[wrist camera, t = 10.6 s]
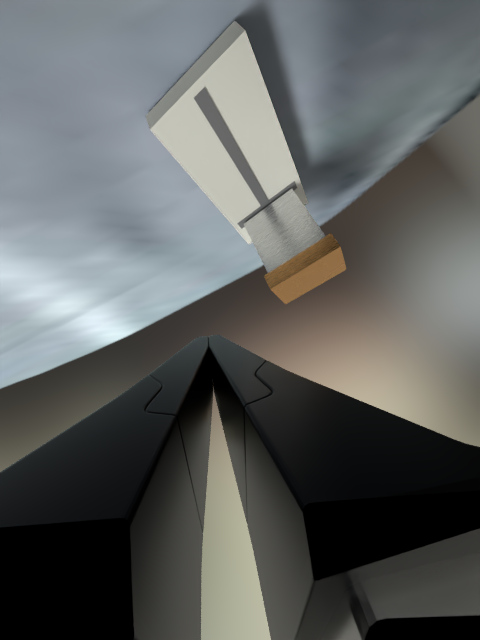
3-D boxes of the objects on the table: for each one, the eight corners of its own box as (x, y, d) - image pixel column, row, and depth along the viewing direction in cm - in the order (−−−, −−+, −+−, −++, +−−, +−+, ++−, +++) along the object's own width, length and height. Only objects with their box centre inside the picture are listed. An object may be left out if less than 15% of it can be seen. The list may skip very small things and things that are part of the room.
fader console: (145, 115, 13) (150, 129, 13) (234, 20, 11) (245, 30, 11) (243, 233, 23) (249, 244, 22) (300, 191, 21) (308, 203, 20)
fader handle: (238, 223, 20) (270, 289, 17) (294, 182, 18) (340, 246, 15) (255, 244, 22) (285, 304, 19) (305, 210, 21) (346, 269, 18)
